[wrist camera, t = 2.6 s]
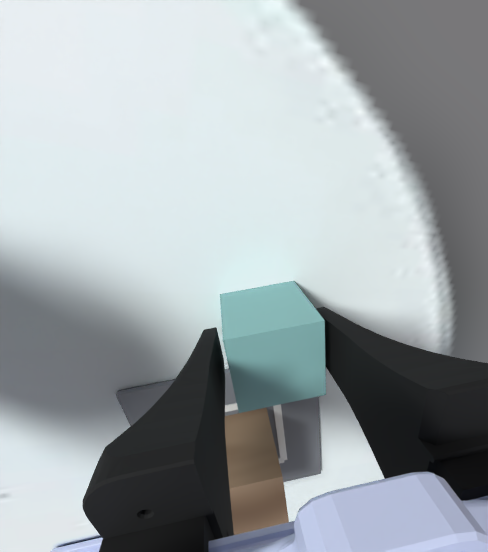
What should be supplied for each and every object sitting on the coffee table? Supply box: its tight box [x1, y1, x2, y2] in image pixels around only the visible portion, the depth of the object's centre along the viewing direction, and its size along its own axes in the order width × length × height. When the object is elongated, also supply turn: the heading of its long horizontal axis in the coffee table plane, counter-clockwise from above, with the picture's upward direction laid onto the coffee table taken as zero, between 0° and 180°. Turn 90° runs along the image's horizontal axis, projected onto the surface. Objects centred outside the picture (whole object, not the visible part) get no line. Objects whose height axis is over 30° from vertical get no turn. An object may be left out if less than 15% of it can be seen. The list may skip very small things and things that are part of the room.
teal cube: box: [220, 281, 326, 413], centre depth 12 cm, size 4×4×4 cm
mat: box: [116, 369, 321, 482], centre depth 17 cm, size 12×12×1 cm
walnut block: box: [225, 408, 289, 535], centre depth 15 cm, size 5×5×4 cm
